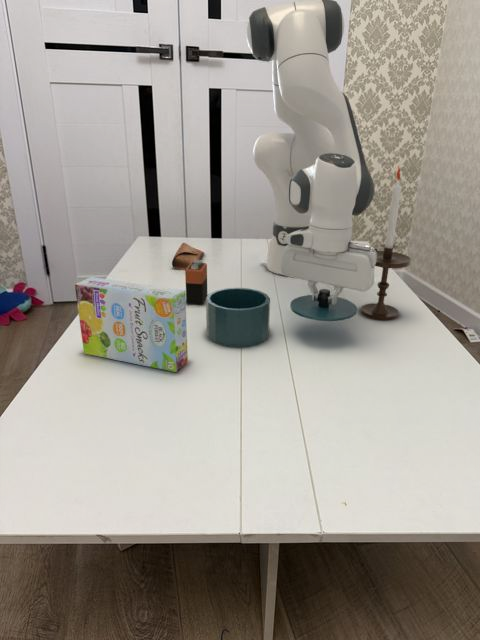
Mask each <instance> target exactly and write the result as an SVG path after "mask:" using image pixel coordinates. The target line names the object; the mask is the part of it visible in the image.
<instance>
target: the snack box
mask: <svg viewBox="0 0 480 640" xmlns="http://www.w3.org/2000/svg"><path fill="white" fill-rule="evenodd" d="M74 290H75V298H76V304H77V312H78V321H79V326H80V334H81V335H80V336H81V342H82V350H83V354H85V355H88V356H89V355H90V356H94V357H100V358H105V359H111V360H115V361H119V362H125V363H130V364H135V365H140V366H145V367H149V368H155V369H160V370H165V371H169V372H173V373H177V372H178V371H179V370H180V369H181V368H183V366H184V365H186V364H187V363H188V362H189V360H188V358H189V356H188V353H189V352H188V329H187V303H186V289H177V288H171V287H163V286H156V285H149V284H142V283H136V282H129V281H122V280H115V279H109V278H101V277H96V276H89V277H87V278H85V279H83V280H81V281H79V282H76V283H75V284H74Z"/></svg>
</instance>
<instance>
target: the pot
mask: <svg viewBox="0 0 480 640" xmlns="http://www.w3.org/2000/svg"><path fill="white" fill-rule="evenodd" d="M205 311H206V312H205V313H206V314H205V315H206V316H205V318H206V333H207V334H206V335H207V338H208V340H209V341H211V342H212V343H215V344H217V345H220V346H223V347H229V348H249V347H253V346H258V345H260V344H262V343H264V342H265V341H266V340H267V339H268V338H269V334H270V333H269V332H270V317H271V316H270V315H271V313H270V311H271V298H270V296H269V295H268V294H267V293H265V292H263V291H261V290H258V289H253V288H249V287H227V288H226V287H225V288H221V289H217V290H214V291H212V292H210V293H208V294H207V297H206V299H205Z"/></svg>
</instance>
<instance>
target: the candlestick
mask: <svg viewBox="0 0 480 640" xmlns="http://www.w3.org/2000/svg"><path fill="white" fill-rule="evenodd" d="M401 171H402V170H401V168H400V165H398V166H397V171H396V183H395V185H394V186H392V192H391V199H390V205H389V206H390V207H389V213H388V219H387V220H388V221H387V228H386V235H385V243H383V244H380V245H379V246H380V247H381V248H383V250H378V251H376V253H377V261H376V265H375V266H374V267H379V268H381V269H382V272H381V279H380V281H379V282H377V287H378V289H379V290H378V291H377V292H376V295H377V296H378V300H377V303H375V302H374V303H366V304H364V305H362V306H361V310H360V311H361V312H360V313H361V314H362V315H363V317H366V318H369V319H371V320H376V321H392V320H395V319H397V318H398V317H399V310H398V309H397V308H396V307H394V306H392V305H389V304H385V298H386V297H387V296H388V293H386V291H387V290H388V288H389V287H390V283H389V282H388V275H389V269H404V268H407V267H409V266H410V265H411V260H412V259H411V257H410V256H408V255H407V254H404V253H401V252H396V251H394V249H397V248H398V246H397V245H395V244H394V242H395V237H396V228H397V221H398V214H399V209H400V202H401V194H402V189H403V188H402V187H401V183H400V182H401V181H400V180H401Z"/></svg>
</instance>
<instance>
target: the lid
mask: <svg viewBox="0 0 480 640" xmlns="http://www.w3.org/2000/svg"><path fill="white" fill-rule="evenodd" d="M318 292H319V300H318V301H313V300H312V294H307V295H301V296H298V297H295V298H294V299H292V300H291V301H290V303H289V308H290V311H292V313H294V314H295V315H297V316H299V317H301V318H304V319H309V320H313V321H318V322H319V321H320V322H341V321H346V320H349V319H352V318H353V317H355V316H356V315H357V313H358V307H357V305H356V304H355V303H353V302H352V301H351V300H349V299H346V298H343V297H339V296H337V303H336V304H335V305H331V304H328V296H330V295H331V290H330V289H327V288H321V289H318Z"/></svg>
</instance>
